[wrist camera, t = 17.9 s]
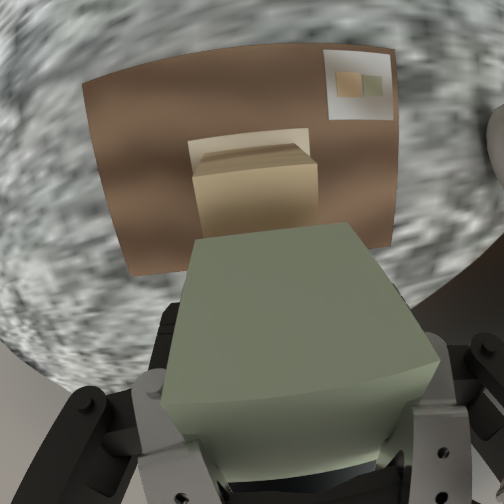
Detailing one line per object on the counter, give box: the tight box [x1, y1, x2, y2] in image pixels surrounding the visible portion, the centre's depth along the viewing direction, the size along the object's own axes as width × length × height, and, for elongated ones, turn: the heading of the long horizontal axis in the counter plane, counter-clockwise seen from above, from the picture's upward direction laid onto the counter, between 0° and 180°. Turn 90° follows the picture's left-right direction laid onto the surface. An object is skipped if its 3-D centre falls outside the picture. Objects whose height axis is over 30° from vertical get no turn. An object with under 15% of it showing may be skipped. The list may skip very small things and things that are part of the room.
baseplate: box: [82, 43, 399, 277], centre depth 20 cm, size 16×22×1 cm
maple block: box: [192, 143, 319, 238], centre depth 18 cm, size 6×6×6 cm
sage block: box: [160, 222, 441, 482], centre depth 8 cm, size 5×5×6 cm
